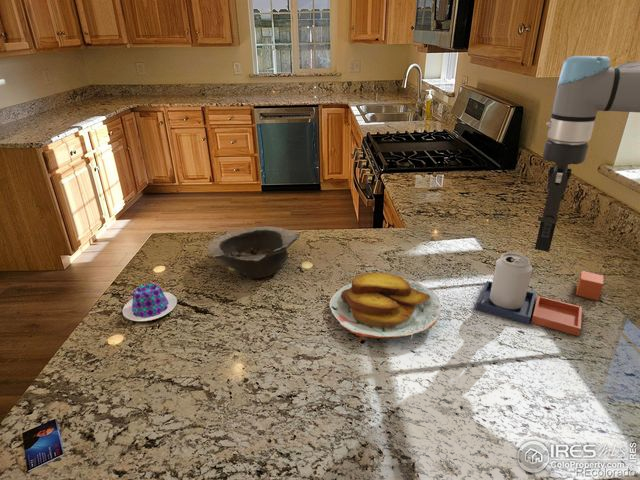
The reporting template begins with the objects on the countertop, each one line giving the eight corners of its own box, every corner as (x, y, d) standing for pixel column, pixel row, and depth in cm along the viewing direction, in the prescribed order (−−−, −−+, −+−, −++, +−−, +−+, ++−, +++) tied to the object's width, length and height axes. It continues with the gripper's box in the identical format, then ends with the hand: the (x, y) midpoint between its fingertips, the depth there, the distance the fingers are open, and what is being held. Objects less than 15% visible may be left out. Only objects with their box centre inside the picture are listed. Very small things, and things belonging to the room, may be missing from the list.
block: (598, 291, 105) (603, 275, 103) (598, 300, 101) (603, 284, 99) (576, 286, 107) (581, 270, 105) (576, 295, 103) (581, 279, 101)
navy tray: (534, 299, 102) (536, 292, 101) (528, 324, 93) (530, 317, 92) (485, 287, 107) (487, 280, 106) (475, 309, 98) (477, 302, 97)
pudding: (175, 290, 107) (172, 272, 104) (179, 316, 96) (175, 297, 94) (123, 300, 103) (119, 281, 100) (122, 329, 93) (117, 309, 90)
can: (492, 291, 104) (500, 247, 99) (525, 299, 101) (536, 255, 96) (485, 306, 99) (494, 261, 93) (520, 316, 95) (531, 269, 90)
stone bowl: (278, 292, 105) (274, 259, 101) (193, 282, 113) (185, 251, 109) (312, 248, 125) (309, 219, 121) (238, 242, 134) (233, 215, 130)
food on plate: (367, 363, 82) (368, 336, 80) (310, 299, 102) (310, 276, 100) (465, 324, 93) (469, 299, 90) (396, 274, 113) (398, 252, 110)
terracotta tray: (580, 313, 96) (582, 306, 96) (578, 336, 89) (581, 328, 89) (535, 302, 101) (537, 295, 100) (531, 322, 94) (532, 315, 93)
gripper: (550, 128, 96) (532, 215, 105) (540, 152, 76) (518, 257, 85) (589, 130, 92) (566, 220, 101) (588, 157, 73) (560, 265, 82)
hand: (544, 237), depth 93 cm, fingers open, 13 cm apart
